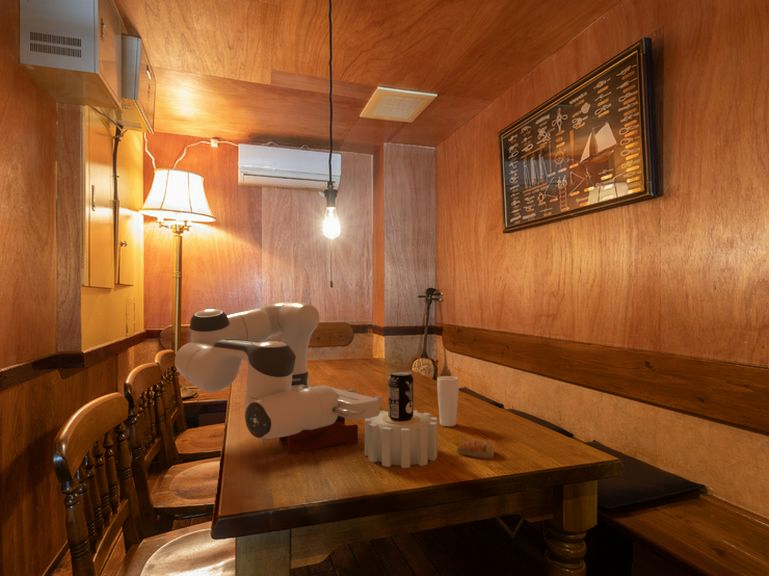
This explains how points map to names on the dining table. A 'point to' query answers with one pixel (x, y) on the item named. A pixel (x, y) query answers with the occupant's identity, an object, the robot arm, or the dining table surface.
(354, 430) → the cannon model
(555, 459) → the dining table surface
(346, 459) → the dining table surface
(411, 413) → the beverage can
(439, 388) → the drinking glass
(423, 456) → the gear pedestal
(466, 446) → the pastry
